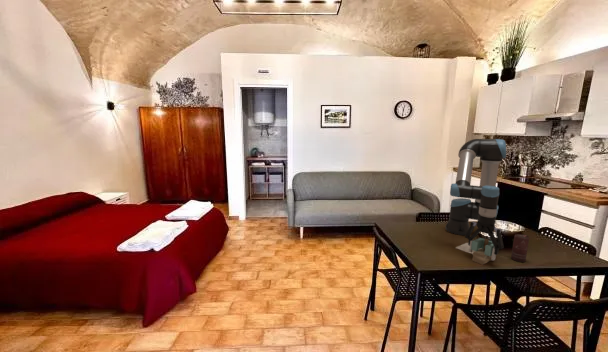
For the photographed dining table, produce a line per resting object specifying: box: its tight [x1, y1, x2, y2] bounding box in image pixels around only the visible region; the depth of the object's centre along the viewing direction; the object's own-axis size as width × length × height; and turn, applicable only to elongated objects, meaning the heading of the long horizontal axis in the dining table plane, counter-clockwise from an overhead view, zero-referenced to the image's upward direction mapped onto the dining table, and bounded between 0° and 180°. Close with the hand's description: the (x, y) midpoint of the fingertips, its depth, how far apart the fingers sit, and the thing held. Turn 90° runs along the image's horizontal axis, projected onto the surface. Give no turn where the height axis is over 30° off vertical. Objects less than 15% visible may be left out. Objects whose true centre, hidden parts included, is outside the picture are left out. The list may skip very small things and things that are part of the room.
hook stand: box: [471, 238, 492, 266], centre depth 140 cm, size 13×5×12 cm, turn 123°
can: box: [511, 233, 530, 263], centre depth 140 cm, size 6×6×14 cm
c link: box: [471, 237, 494, 256], centre depth 140 cm, size 9×9×5 cm
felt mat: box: [454, 242, 481, 255], centre depth 153 cm, size 14×14×1 cm
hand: (481, 255), depth 139 cm, fingers open, 10 cm apart
